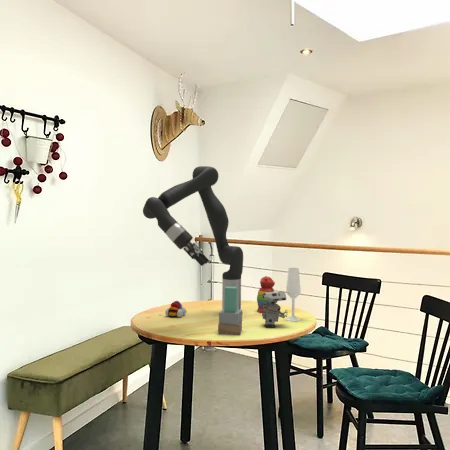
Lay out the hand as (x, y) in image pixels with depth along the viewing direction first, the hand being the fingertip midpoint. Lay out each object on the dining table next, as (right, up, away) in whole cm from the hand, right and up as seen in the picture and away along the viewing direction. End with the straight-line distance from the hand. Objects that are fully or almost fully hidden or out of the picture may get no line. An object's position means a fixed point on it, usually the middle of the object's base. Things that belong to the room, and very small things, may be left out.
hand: (205, 263), depth 200 cm
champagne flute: (+40, -28, +23) cm, 54 cm away
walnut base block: (+10, -29, -2) cm, 31 cm away
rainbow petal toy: (-16, -28, +29) cm, 43 cm away
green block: (+10, -20, -2) cm, 22 cm away
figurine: (+30, -28, +10) cm, 43 cm away
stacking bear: (+29, -28, +41) cm, 57 cm away
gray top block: (+10, -24, -2) cm, 26 cm away
